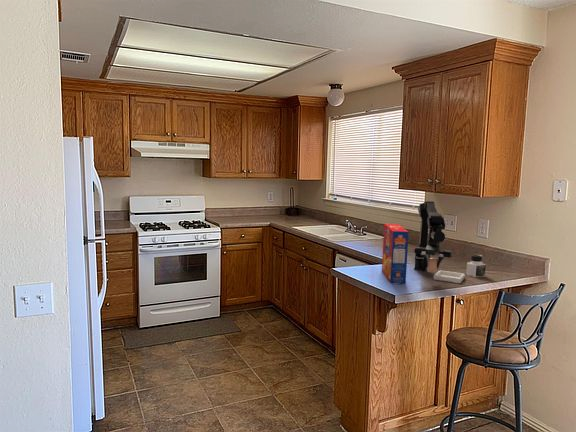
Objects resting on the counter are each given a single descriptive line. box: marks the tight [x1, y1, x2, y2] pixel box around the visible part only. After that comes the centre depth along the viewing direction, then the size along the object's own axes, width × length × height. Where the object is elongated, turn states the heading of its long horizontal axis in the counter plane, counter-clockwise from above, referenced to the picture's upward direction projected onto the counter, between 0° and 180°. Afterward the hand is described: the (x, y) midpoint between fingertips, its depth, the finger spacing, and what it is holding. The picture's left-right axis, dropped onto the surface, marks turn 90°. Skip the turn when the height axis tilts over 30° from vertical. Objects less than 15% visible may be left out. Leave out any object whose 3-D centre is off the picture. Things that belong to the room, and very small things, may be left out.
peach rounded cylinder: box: [426, 256, 438, 274], centre depth 234 cm, size 5×5×7 cm
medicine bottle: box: [465, 254, 487, 278], centre depth 253 cm, size 7×7×12 cm
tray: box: [433, 270, 466, 284], centre depth 245 cm, size 14×14×2 cm
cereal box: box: [381, 223, 410, 285], centre depth 244 cm, size 28×8×28 cm, turn 177°
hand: (432, 268), depth 234 cm, fingers closed on peach rounded cylinder, 5 cm apart
